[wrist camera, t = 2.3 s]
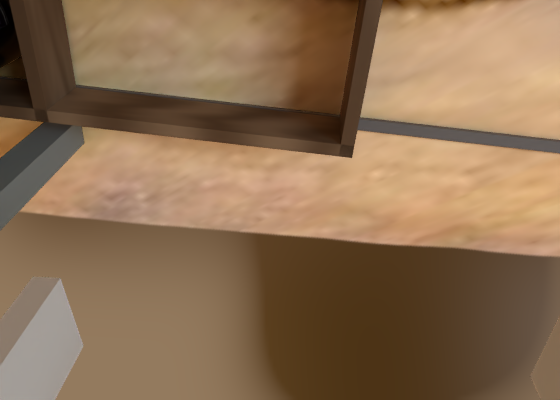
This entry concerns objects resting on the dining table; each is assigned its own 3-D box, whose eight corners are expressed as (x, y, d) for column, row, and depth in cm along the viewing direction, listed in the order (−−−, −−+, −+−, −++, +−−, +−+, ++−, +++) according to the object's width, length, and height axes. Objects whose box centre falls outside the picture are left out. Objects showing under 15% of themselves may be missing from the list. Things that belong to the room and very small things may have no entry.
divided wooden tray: (381, -45, 26) (389, -35, 22) (349, 129, 32) (351, 157, 28) (-136, -100, 26) (-202, -99, 23) (-72, 81, 32) (-118, 103, 29)
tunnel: (708, -94, 24) (1198, -72, 10) (559, 198, 34) (709, 400, 20) (-171, -184, 25) (-752, -269, 11) (-61, 126, 35) (-300, 272, 21)
